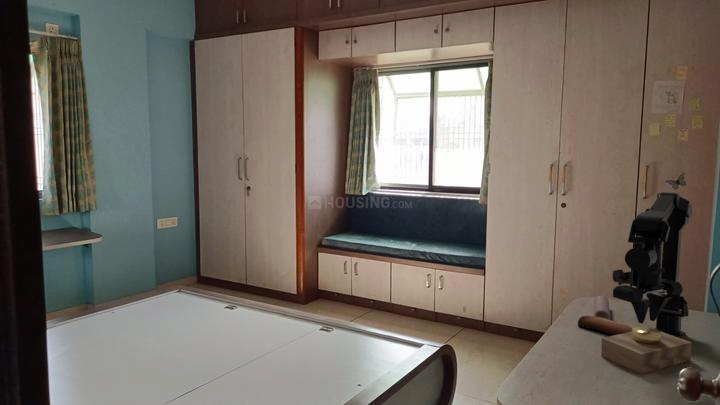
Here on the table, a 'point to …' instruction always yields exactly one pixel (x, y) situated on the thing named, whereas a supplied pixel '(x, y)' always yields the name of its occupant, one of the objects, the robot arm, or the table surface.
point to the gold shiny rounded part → (646, 335)
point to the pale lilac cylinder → (601, 307)
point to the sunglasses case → (604, 325)
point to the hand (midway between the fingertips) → (646, 321)
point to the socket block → (646, 352)
